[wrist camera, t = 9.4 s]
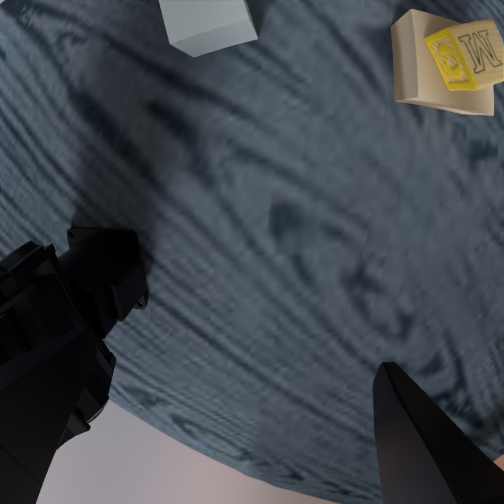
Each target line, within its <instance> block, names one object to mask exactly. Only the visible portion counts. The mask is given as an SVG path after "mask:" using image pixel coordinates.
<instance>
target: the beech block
mask: <svg viewBox="0 0 504 504" xmlns="http://www.w3.org/2000/svg"><path fill="white" fill-rule="evenodd" d="M460 24H462V23H459V22H456V21H453V20H450V19H447V18H443V17H440V16H437V15H433V14H430V13H426V12H423V11H419V10H415V9H410V10H409V11H408V12H407V13H405V14H404V15H403V16H402V17H401V18H400V19H399V20H398V21H396V22H395V23H394V24H393V25H392V26H391V36H392V48H393V64H394V90H395V101H398V102H405V103H411V104H417V105H422V106H428V107H433V108H438V109H443V110H447V111H452V112H456V113H460V114H474V115H491V116H494V93H493V85H490V86H488V87H485V88H482V89H479V90H459V91H457V90H456V91H450V90H448V88H447V86H446V84H445V81H444V79H443V77H442V75H441V73H440V71H439V68H438V67H437V64H436V62H435V60H434V58H433V56H432V54H431V52H430V50H429V48H428V47H427V45H426V43H425V40H424V38H425V37H427V36H429V35H431V34H433V33H435V32H438V31H440V30H442V29H445V28H447V27H451V26H455V25H460Z"/></svg>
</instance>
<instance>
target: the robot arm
mask: <svg viewBox="0 0 504 504" xmlns="http://www.w3.org/2000/svg"><path fill="white" fill-rule="evenodd" d="M72 233H73V234H72ZM73 235H74V236H73ZM128 235H130V236H131V238H132V239H130V238H129V237H128ZM67 238H68V243H69V248H70V249H69V250H68V251H66V252H65V253H64V254H62V255H61V256H59V257H58V258H57V256H56V254H55V252H56V250H55V248H54V246H53V243H52V244H50V245H47V246H45V247H43V245H42V246H40V245H39V246H38V245H37V244H35V243H34V242H33V241H29V242H27V243H25V244H24V245H22V246H21V247H19V248H18V249H16V250H14V251H13V252H11V253H10V254H9V255H7V256H6V257H4V258H3V259H2V260H1V261H0V504H36V502H37V499H38V496H39V493H40V490H41V487H42V485H43V482H44V479H45V477H46V474H47V472H48V469H49V466H50V464H51V461H52V459H53V457H54V454H55V452H56V450H57V449H58V448H59V447H60V446H62V445H63V444H64V443H65V442H67V441H68V440H70V439H71V438H73V437H74V436H76V435H79V434H81V433H84V432H86V431H89V430H90V425H89V424H88V423H90V422H91V421H92V420H94V419H95V418H96V417H97V416H98V415H99V414H100V413H101V412H102V410H103V409H104V407H105V405H106V404H107V402H108V400H109V395H108V394H109V389H110V385H111V381H112V376H113V372H114V368H115V363H116V357H115V356H114V354H113V353H112V352H110V351H109V349H108V348H107V346H106V345H105V343H104V341H103V340H102V338H103V339H105V338H106V336H107V335H108V334H109V332H110V331H111V330H112V328H113V327H114V326H115V324H116V323H117V322H118V321H120V322H122V321H123V320H124V319H125V318H126V316H127V315H128V314H129V312H130V311H131V310H132V308H134V309H145V307H146V306H147V303H148V302H147V297H146V290H147V288H146V282H145V276H144V270H143V263H142V260H141V259H140V253H139V246H138V238H137V234H136V232H135V231H133V230H131V229H109V228H85V227H71V228H70V229H68V230H67ZM140 302H141V303H142V304H141V303H140ZM373 407H374V433H375V441H376V449H377V457H378V465H379V475H380V485H381V496H382V504H504V471H503V470H502V469H501V468H499V467H498V466H497V465H496V464H495V463H494V462H493V461H492V460H490V459H489V458H488V457H487V456H486V455H485V454H484V453H483V452H482V451H481V450H480V449H479V448H478V447H477V446H476V445H475V444H474V443H473V442H472V441H471V440H470V439H469V438H468V437H467V436H465V434H464V433H463V431H462V430H461V429H460V428H459V427H458V426H457V425H456V424H455V423H454V422H453V421H452V420H451V419H450V418H449V417H448V416H447V415H446V414H445V413H444V412H443V410H442V409H441V408H440V407H439V406H438V405H437V404H436V403H435V402H434V401H433V400H432V399H431V398H430V397H429V396H428V395H427V394H426V393H425V392H424V391H423V390H422V389H421V388H420V387H419V386H418V385H417V384H416V383H415V382H414V381H413V380H412V379H411V378H410V377H409V375H408V374H407V373H406V372H405V371H404V370H403V369H402V368H401V367H400V366H399V365H398V364H397V363H395V362H382V363H381V364H380V366H379V369H378V371H377V374H376V376H375V379H374V381H373Z"/></svg>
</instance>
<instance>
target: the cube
mask: <svg viewBox="0 0 504 504" xmlns="http://www.w3.org/2000/svg"><path fill="white" fill-rule="evenodd" d="M159 3H160V7H161V11H162V15H163V19H164V23H165V27H166V31H167V35H168V39H169V43H170V45H172V46H174V47H176V48H178V49H179V50H181V51H183V52H185V53H187V54H188V55H190V56H192V57H193V58H195V57H198V56H200V55H203V54H207V53H210V52H213V51H216V50H219V49H223V48H226V47H230V46H233V45H237V44H240V43H244V42H248V41H252V40H256V39H258V36H257V33H256V30H255V27H254V23H253V20H252V17H251V14H250V11H249V8H248V5H247V2H246V0H159Z"/></svg>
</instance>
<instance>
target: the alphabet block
mask: <svg viewBox="0 0 504 504" xmlns="http://www.w3.org/2000/svg"><path fill="white" fill-rule="evenodd" d="M424 40H425V43H426V45H427V47H428V48H429V50H430V52H431V54H432V56H433V58H434V60H435V62H436V64H437V67H438V68H439V71H440V73H441V75H442V77H443V79H444V81H445V84H446V86H447V88H448V90H450V91H456V90H457V91H459V90H479V89H482V88H485V87H488V86H490V85H493V84H496V83H499V82H502V81H504V41H503V39H502V37H501V35H500V33H499V31H498V29H497V27H496V24H495V22H494V21H493V19H490V18H489V19H484V20H479V21H474V22H469V23H464V24H460V25H455V26H451V27H447V28H445V29H442V30H440V31H438V32H435V33H433V34H431V35H429V36H427V37H425V38H424Z"/></svg>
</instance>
